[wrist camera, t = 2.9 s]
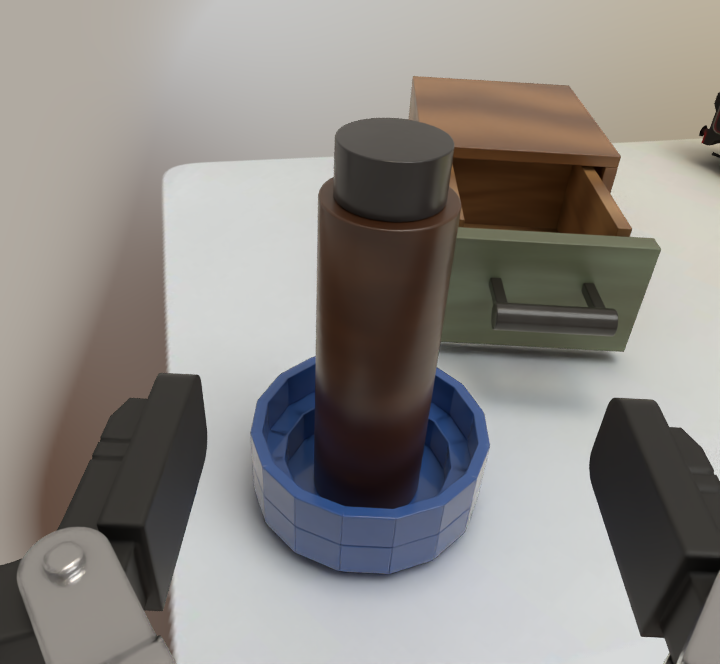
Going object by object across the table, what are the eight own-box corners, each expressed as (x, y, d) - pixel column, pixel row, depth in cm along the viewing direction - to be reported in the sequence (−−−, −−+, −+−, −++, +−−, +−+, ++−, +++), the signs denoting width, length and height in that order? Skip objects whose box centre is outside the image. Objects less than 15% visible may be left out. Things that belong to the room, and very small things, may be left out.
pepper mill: (309, 517, 29) (313, 163, 19) (317, 436, 33) (324, 108, 23) (420, 522, 29) (479, 173, 20) (416, 441, 33) (462, 116, 23)
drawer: (645, 398, 36) (689, 290, 32) (430, 386, 36) (447, 277, 32) (571, 238, 50) (594, 149, 46) (416, 229, 50) (426, 139, 46)
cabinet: (587, 272, 48) (621, 156, 43) (408, 262, 48) (421, 144, 42) (546, 184, 59) (569, 85, 54) (403, 176, 59) (412, 75, 54)
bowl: (239, 574, 27) (233, 510, 25) (271, 404, 35) (269, 343, 33) (486, 587, 27) (504, 524, 25) (462, 414, 35) (474, 355, 33)
